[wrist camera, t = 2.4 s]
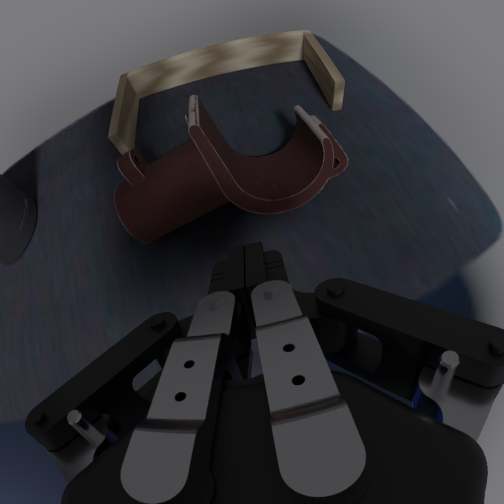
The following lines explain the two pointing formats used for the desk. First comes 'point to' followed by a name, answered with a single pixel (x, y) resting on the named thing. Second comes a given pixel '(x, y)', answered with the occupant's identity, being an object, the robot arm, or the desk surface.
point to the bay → (216, 63)
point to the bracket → (222, 176)
